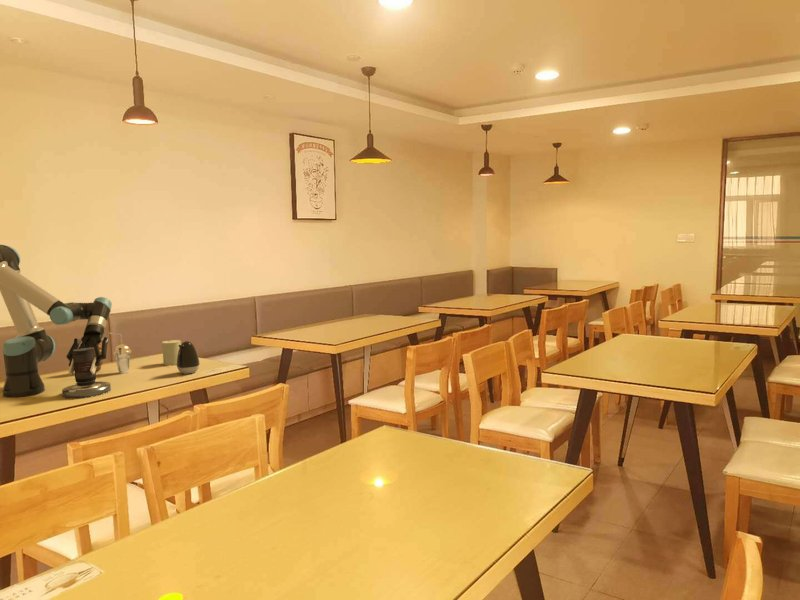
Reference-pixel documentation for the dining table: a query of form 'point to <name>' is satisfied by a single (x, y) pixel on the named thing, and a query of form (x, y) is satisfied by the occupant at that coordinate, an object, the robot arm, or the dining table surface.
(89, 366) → the camera lens
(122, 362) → the cup with straw
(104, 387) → the plate
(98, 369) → the croissant
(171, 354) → the pale green cup
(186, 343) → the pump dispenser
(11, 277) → the robot arm
